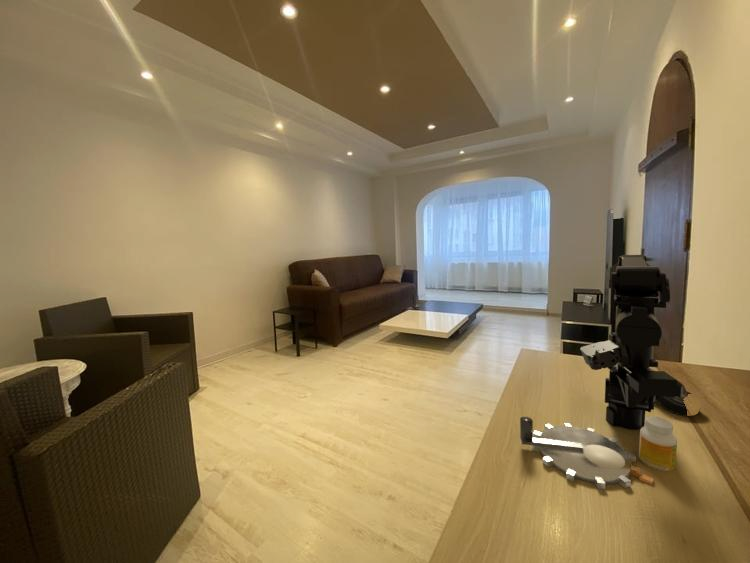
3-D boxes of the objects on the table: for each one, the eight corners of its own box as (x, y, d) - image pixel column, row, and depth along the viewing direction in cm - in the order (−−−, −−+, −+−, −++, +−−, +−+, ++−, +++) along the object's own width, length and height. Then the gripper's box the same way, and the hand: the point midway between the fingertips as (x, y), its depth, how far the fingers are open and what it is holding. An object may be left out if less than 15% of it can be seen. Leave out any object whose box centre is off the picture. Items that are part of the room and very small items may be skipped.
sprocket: (526, 418, 78) (526, 393, 77) (630, 441, 67) (632, 413, 67) (516, 464, 63) (516, 434, 62) (648, 504, 52) (650, 469, 51)
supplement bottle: (678, 481, 58) (682, 433, 57) (641, 471, 61) (643, 425, 60) (670, 462, 63) (673, 418, 61) (636, 454, 65) (638, 411, 64)
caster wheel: (699, 427, 76) (647, 412, 81) (688, 398, 85) (641, 386, 90) (709, 407, 74) (655, 392, 79) (696, 379, 83) (648, 367, 88)
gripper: (570, 318, 71) (568, 382, 73) (607, 347, 53) (604, 431, 55) (627, 318, 68) (624, 385, 70) (688, 349, 50) (681, 438, 52)
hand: (630, 406), depth 62 cm, fingers closed
